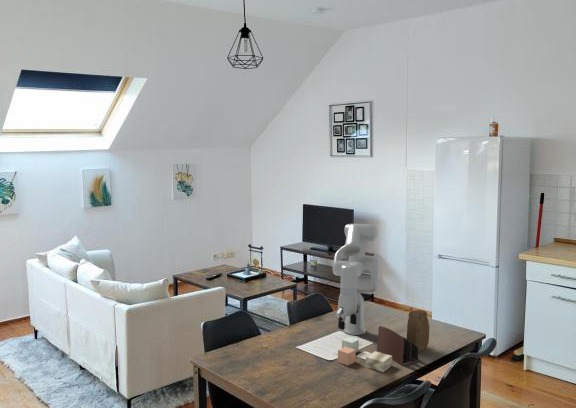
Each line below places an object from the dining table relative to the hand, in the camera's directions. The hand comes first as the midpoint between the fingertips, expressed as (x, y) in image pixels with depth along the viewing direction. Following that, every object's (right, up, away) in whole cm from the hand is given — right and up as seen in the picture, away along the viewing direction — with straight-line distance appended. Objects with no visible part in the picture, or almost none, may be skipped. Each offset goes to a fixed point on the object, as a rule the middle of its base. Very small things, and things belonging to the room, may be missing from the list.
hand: (347, 326), depth 253 cm
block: (+38, -16, +19) cm, 45 cm away
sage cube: (+3, -16, +15) cm, 22 cm away
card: (+11, -17, +9) cm, 22 cm away
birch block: (+14, -18, -2) cm, 23 cm away
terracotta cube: (0, -17, +2) cm, 18 cm away
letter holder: (+25, -17, +10) cm, 32 cm away
